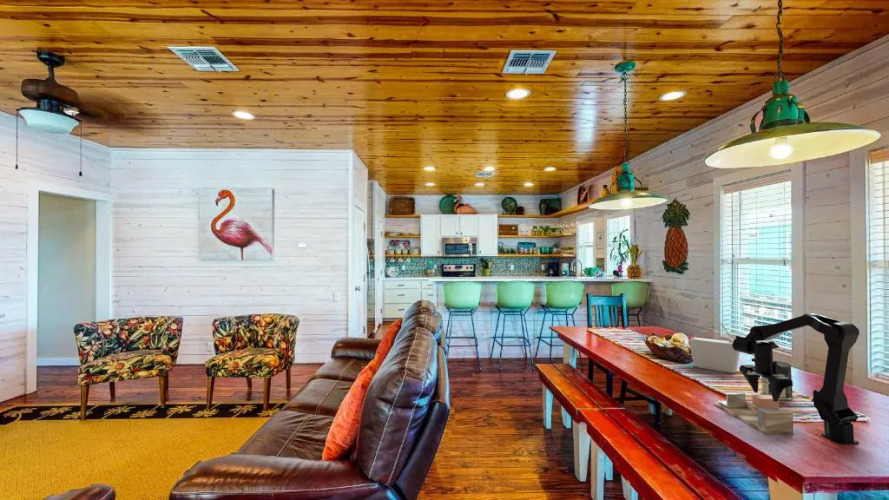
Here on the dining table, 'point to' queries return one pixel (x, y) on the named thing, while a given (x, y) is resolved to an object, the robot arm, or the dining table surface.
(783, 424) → the beige piece
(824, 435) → the robot arm
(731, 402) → the bookend
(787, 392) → the coffee can
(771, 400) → the terracotta book
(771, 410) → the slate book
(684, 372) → the dining table surface
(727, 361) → the radio
